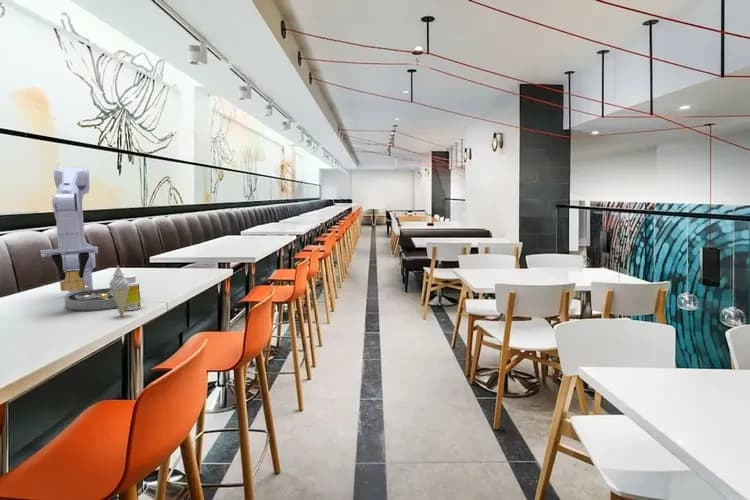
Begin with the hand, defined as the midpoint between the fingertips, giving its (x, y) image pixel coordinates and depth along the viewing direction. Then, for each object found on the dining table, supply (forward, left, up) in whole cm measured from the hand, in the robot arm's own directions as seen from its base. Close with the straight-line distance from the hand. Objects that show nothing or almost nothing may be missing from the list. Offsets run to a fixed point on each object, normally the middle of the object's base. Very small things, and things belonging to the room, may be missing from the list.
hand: (72, 278), depth 149 cm
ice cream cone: (+17, +10, -10) cm, 22 cm away
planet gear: (0, 0, -3) cm, 3 cm away
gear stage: (-5, +9, -10) cm, 14 cm away
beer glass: (+9, +14, -10) cm, 19 cm away
